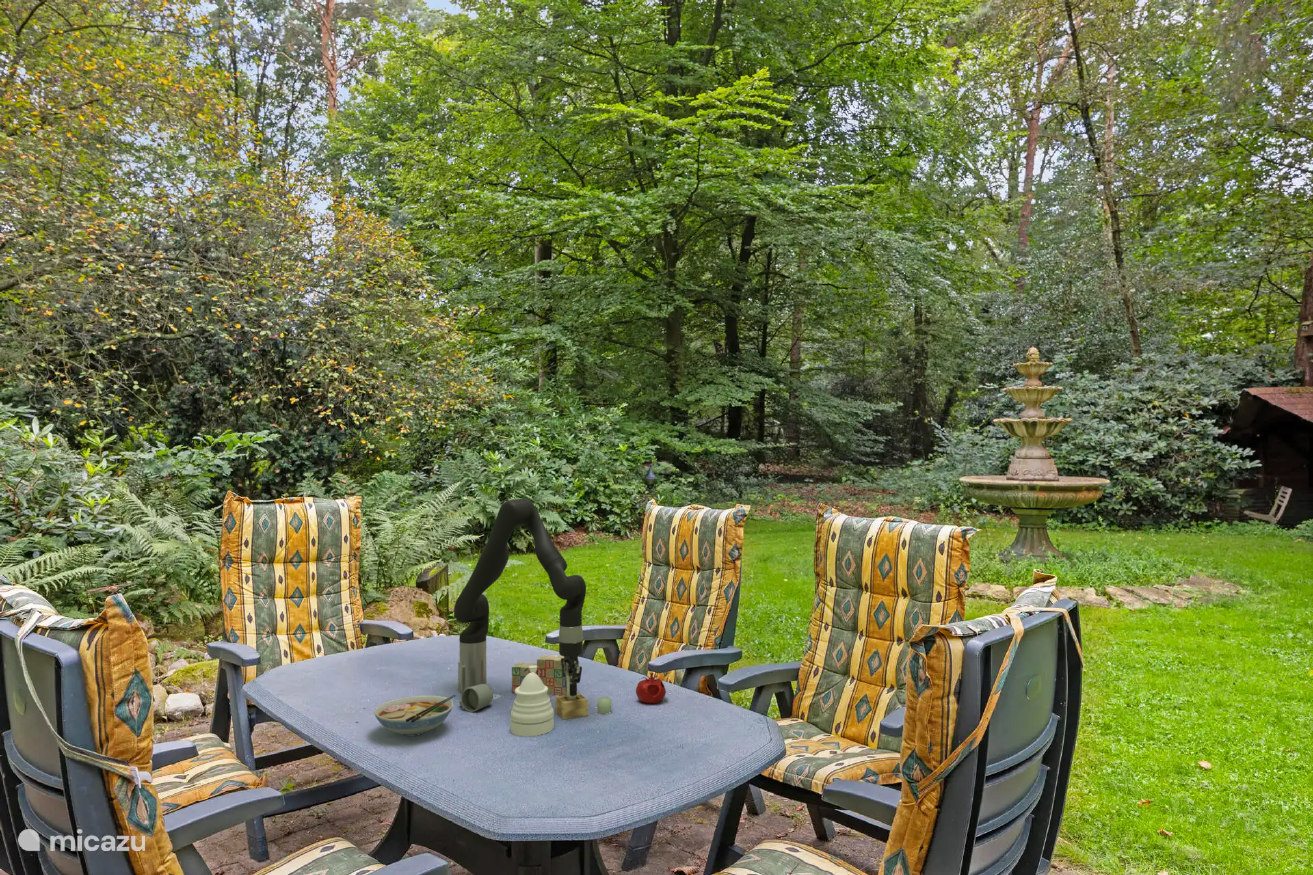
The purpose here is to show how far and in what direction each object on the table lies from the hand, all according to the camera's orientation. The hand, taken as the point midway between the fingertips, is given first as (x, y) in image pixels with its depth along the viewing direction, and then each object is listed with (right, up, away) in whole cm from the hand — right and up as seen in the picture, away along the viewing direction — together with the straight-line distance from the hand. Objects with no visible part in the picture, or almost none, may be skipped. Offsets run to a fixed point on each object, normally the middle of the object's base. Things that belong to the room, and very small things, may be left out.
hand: (571, 693), depth 245 cm
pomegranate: (+25, -7, +12) cm, 29 cm away
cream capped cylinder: (0, -4, 0) cm, 4 cm away
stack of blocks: (-12, -7, +23) cm, 27 cm away
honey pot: (-10, -6, -13) cm, 18 cm away
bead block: (0, -6, 0) cm, 6 cm away
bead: (+10, -6, +2) cm, 12 cm away
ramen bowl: (-45, -7, -15) cm, 48 cm away
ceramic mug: (-32, -7, +7) cm, 34 cm away
